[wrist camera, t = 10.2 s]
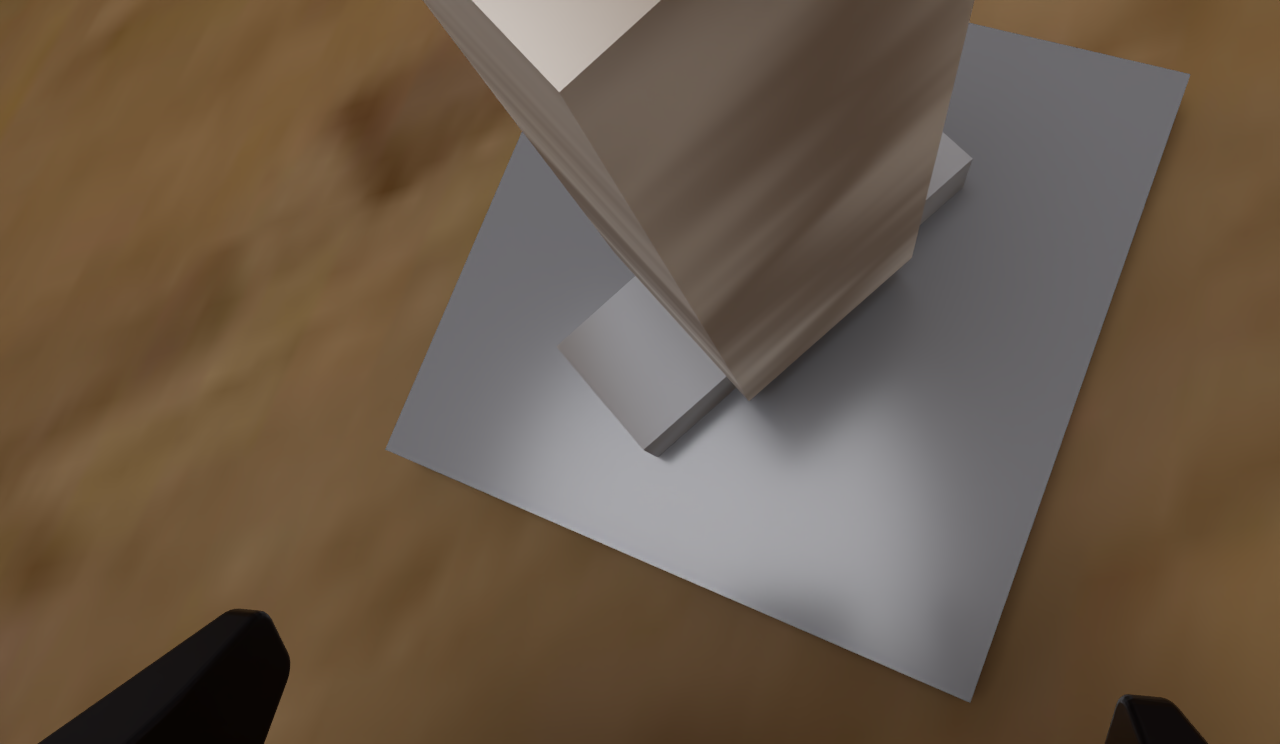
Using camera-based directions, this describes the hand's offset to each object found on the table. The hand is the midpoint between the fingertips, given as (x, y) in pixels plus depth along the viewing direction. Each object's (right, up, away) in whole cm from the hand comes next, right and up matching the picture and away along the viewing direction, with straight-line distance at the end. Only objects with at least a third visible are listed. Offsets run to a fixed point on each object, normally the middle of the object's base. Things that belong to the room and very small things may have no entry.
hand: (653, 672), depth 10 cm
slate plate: (+3, +5, +12) cm, 14 cm away
